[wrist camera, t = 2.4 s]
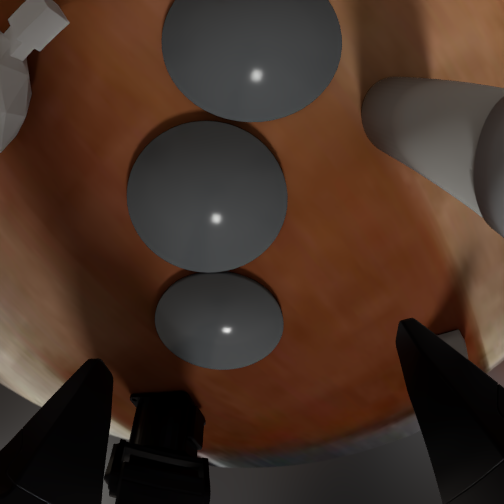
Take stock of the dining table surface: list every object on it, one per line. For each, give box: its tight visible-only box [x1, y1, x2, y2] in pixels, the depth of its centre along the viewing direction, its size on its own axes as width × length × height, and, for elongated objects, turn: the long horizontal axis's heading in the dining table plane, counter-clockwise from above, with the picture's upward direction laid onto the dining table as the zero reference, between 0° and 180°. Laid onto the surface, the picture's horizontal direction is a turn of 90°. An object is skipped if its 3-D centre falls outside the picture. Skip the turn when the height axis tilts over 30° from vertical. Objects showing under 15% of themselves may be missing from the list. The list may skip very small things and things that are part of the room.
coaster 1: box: [162, 0, 342, 122], centre depth 15 cm, size 10×10×1 cm
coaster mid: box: [127, 120, 287, 273], centre depth 20 cm, size 10×10×1 cm
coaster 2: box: [155, 271, 283, 369], centre depth 25 cm, size 10×10×1 cm
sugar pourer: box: [361, 77, 504, 238], centre depth 12 cm, size 5×5×13 cm
